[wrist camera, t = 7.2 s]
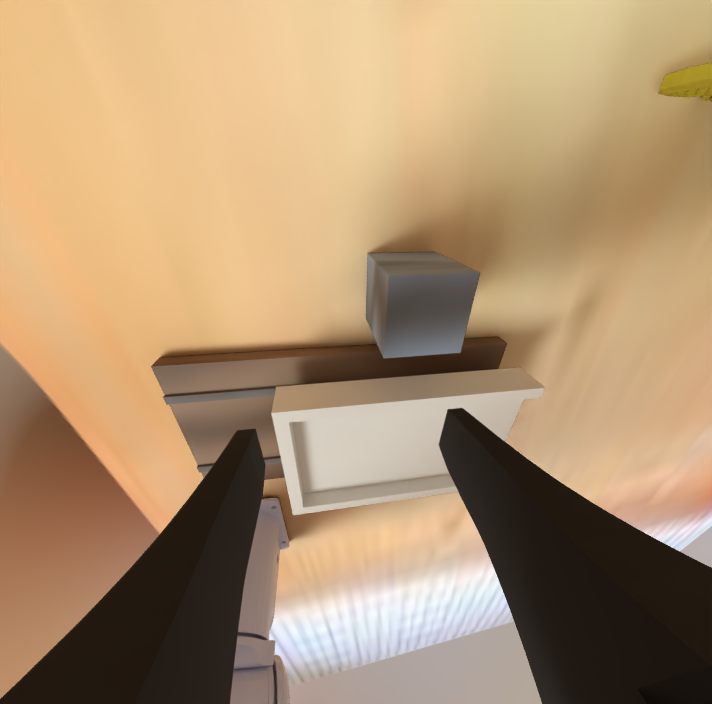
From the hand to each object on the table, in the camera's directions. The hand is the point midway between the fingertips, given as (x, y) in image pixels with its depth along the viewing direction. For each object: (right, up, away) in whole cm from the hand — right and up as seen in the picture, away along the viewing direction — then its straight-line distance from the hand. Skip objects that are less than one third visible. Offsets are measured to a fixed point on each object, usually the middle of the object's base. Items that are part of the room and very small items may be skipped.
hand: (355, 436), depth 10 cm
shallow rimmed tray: (+3, -2, +10) cm, 11 cm away
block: (+3, +7, +6) cm, 10 cm away
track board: (-1, -2, +11) cm, 11 cm away
